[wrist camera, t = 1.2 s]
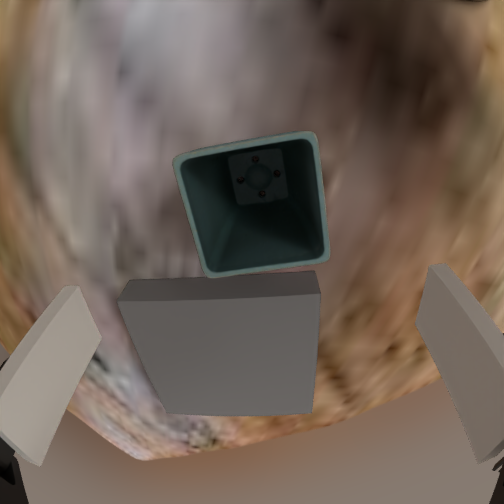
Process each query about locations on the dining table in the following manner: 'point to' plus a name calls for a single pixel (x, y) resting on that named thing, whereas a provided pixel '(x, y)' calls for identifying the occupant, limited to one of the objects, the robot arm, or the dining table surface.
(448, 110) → the dining table surface
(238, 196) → the flower pot
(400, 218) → the dining table surface
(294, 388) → the plinth
